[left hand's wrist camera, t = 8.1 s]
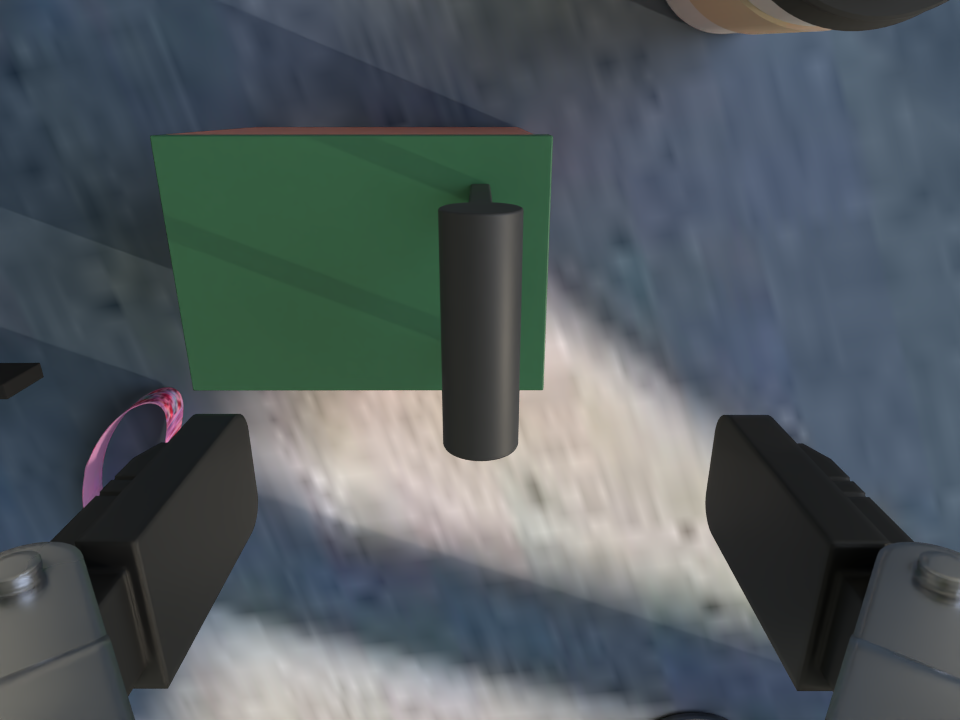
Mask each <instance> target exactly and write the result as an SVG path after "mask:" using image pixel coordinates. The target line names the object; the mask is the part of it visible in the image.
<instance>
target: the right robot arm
mask: <svg viewBox="0 0 960 720" xmlns="http://www.w3.org/2000/svg"><path fill="white" fill-rule="evenodd" d="M41 378H43V373H42V369H41V365H40V363H0V399H8V398H10V397H12V396H13V395H15V394H16V393H18V392H20V391H21V390H23V389H25V388H26V387H28V386H30V385H31V384H33V383H34V382H36V381H38V380H39V379H41Z"/></svg>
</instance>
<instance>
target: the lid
mask: <svg viewBox="0 0 960 720" xmlns="http://www.w3.org/2000/svg"><path fill="white" fill-rule="evenodd" d="M150 139H151V145H152V151H153V157H154V163H155V169H156V175H157V180H158V186H159V192H160V198H161V204H162V210H163V215H164V221H165V227H166V233H167V239H168V245H169V250H170V256H171V262H172V268H173V274H174V280H175V285H176V291H177V297H178V303H179V309H180V315H181V321H182V326H183V332H184V338H185V344H186V350H187V356H188V361H189V367H190V373H191V379H192V385H193V390H442V407H443V444H444V447H445V448H446V450H447V451H448V452H449V453H450V454H452V455H454V456H456V457H459V458H462V459H466V460H472V461H490V460H496V459H500V458H503V457H505V456H508V455H509V454H511V453H512V452H513V451H514V450H515V449H516V447H517V445H518V425H519V390H543V385H544V359H545V332H546V306H547V279H548V253H549V227H550V200H551V174H552V147H553V136H551V135H549V134H165V135H152V136H150Z"/></svg>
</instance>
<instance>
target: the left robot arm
mask: <svg viewBox="0 0 960 720" xmlns="http://www.w3.org/2000/svg"><path fill="white" fill-rule="evenodd" d="M257 510H258V495H257V487H256V480H255V473H254V466H253V459H252V452H251V445H250V438H249V431H248V426H247V422H246V420H245V418H244V416H243V415H241V414H195V415H193V416H192V417H191V418H190V419H189V420H188V421H187V422H186V423H185V424H184V425H183V426H182V427H181V429H180V430H179V431H178V432H177V433H176V434H175V435H174V436H173V437H172V438H171V439H170V440H169V441H168V442H161V443H159V444H158V445H156V446H154V447H152V448H150V449H149V450H147V451H145V452H143V453H141V454H140V455H138V456H136V457H134V458H133V459H132V460H131V461H130V462H129V463H128V464H127V465H126V466H125V467H124V468H123V469H122V470H121V471H120V472H119V473H118V474H117V475H116V476H115V480H111V481H110V482H109V483H108V484H107V485H106V486H105V487H104V488H103V489H102V490H101V491H100V495H99V496H95V497H94V498H93V499H92V500H91V501H90V502H89V503H88V504H87V505H86V506H85V507H84V508H83V509H82V510H81V511H80V512H79V513H78V514H77V515H76V516H75V517H74V518H73V519H72V520H71V521H70V522H69V523H68V524H67V525H66V526H65V527H64V528H63V529H62V530H61V531H60V532H59V533H58V534H57V535H56V536H55V537H54V538H53V539H52V540H51V541H50V542H41V543H33V544H28V545H23V546H19V547H16V548H12V549H9V550H6V551H4V552H1V553H0V720H135V718H134V715H133V712H132V708H131V705H130V702H129V699H128V696H129V694H130V693H131V691H132V689H168V687H169V686H170V684H171V682H172V680H173V678H174V676H175V674H176V673H177V671H178V669H179V667H180V665H181V663H182V661H183V660H184V658H185V656H186V654H187V652H188V650H189V648H190V647H191V645H192V643H193V641H194V639H195V637H196V635H197V634H198V632H199V630H200V628H201V626H202V624H203V622H204V621H205V619H206V617H207V615H208V613H209V611H210V609H211V608H212V606H213V604H214V602H215V600H216V598H217V596H218V595H219V593H220V591H221V589H222V587H223V585H224V583H225V582H226V580H227V578H228V576H229V574H230V572H231V570H232V569H233V567H234V565H235V563H236V561H237V559H238V557H239V556H240V554H241V552H242V550H243V548H244V546H245V544H246V543H247V541H248V539H249V537H250V535H251V533H252V531H253V529H254V526H255V522H256V517H257ZM706 516H707V521H708V525H709V529H710V531H711V534H712V536H713V537H714V539H715V541H716V543H717V545H718V547H719V548H720V550H721V552H722V554H723V556H724V558H725V559H726V561H727V563H728V565H729V567H730V569H731V570H732V572H733V574H734V576H735V578H736V580H737V581H738V583H739V585H740V587H741V589H742V591H743V592H744V594H745V596H746V598H747V600H748V602H749V603H750V605H751V607H752V609H753V611H754V613H755V614H756V616H757V618H758V620H759V622H760V624H761V625H762V627H763V629H764V631H765V633H766V635H767V636H768V638H769V640H770V642H771V644H772V646H773V647H774V649H775V651H776V653H777V655H778V657H779V658H780V660H781V662H782V664H783V666H784V668H785V669H786V671H787V673H788V675H789V677H790V679H791V680H792V682H793V684H794V686H795V688H796V690H797V691H833V695H832V699H831V702H830V705H829V708H828V712H827V715H826V718H825V720H960V553H959V552H956V551H954V550H951V549H948V548H944V547H941V546H937V545H932V544H927V543H919V542H914V541H913V540H912V539H911V538H910V537H909V536H908V535H907V534H906V533H905V532H904V531H903V530H902V529H901V528H900V527H899V526H898V525H897V524H896V523H895V522H894V521H893V520H892V519H891V518H890V517H889V516H888V515H887V514H886V513H885V512H884V511H883V510H882V509H881V508H880V507H879V506H878V505H877V504H876V503H875V502H874V501H872V500H871V499H870V498H869V497H865V493H864V492H863V491H862V490H861V489H860V488H859V487H858V486H857V485H856V484H855V483H854V482H853V481H850V478H849V477H848V476H847V475H846V474H845V473H844V472H843V471H842V470H841V469H840V468H839V467H838V466H837V465H836V464H835V463H834V462H833V461H832V460H831V459H830V458H828V457H826V456H824V455H823V454H821V453H819V452H817V451H815V450H814V449H812V448H810V447H808V446H806V445H804V444H797V443H796V442H795V441H794V440H793V439H792V438H791V437H790V436H789V435H788V434H787V433H786V432H785V430H784V429H783V428H782V427H781V426H780V425H779V424H778V423H777V422H776V421H775V420H774V419H773V418H772V417H771V416H769V415H723V416H721V417H720V418H719V420H718V422H717V425H716V429H715V435H714V442H713V449H712V456H711V463H710V470H709V477H708V484H707V491H706ZM661 720H727V719H725V718H723V717H720V716H717V715H713V714H707V713H683V714H677V715H673V716H669V717H666V718H663V719H661Z"/></svg>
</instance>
